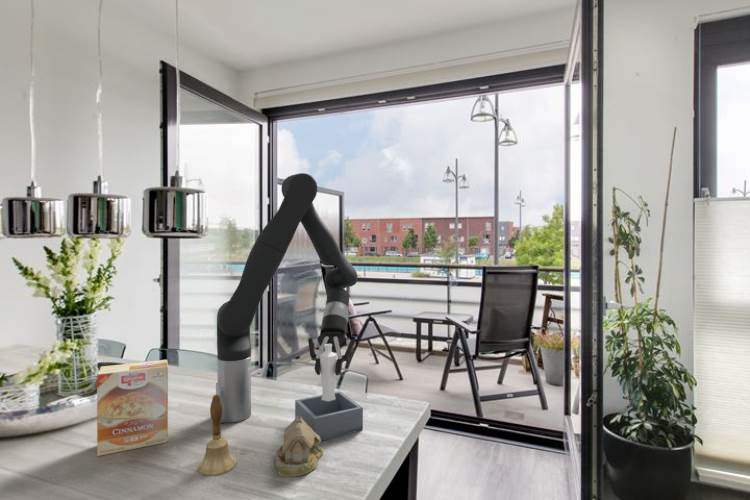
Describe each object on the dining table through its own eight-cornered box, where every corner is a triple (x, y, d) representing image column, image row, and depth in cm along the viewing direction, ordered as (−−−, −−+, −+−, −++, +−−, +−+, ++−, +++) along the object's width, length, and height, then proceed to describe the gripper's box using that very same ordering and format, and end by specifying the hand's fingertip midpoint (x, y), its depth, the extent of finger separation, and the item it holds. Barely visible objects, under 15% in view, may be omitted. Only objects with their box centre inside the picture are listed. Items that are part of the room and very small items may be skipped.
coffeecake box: (96, 457, 96) (96, 374, 96) (100, 443, 102) (100, 365, 102) (168, 443, 103) (168, 365, 103) (167, 431, 109) (167, 358, 109)
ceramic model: (278, 446, 102) (278, 406, 102) (323, 444, 103) (323, 404, 103) (270, 479, 88) (270, 433, 88) (323, 476, 89) (323, 430, 89)
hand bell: (197, 479, 87) (197, 405, 87) (197, 460, 95) (197, 391, 95) (238, 471, 91) (238, 399, 90) (235, 453, 98) (235, 387, 98)
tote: (314, 442, 104) (314, 418, 104) (295, 421, 116) (295, 400, 116) (362, 429, 111) (362, 407, 111) (340, 411, 123) (340, 391, 123)
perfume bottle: (334, 402, 111) (334, 347, 110) (318, 401, 112) (318, 346, 111) (339, 396, 115) (339, 342, 115) (324, 394, 116) (323, 342, 116)
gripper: (309, 313, 121) (298, 366, 109) (357, 313, 120) (352, 367, 108) (313, 327, 126) (304, 379, 114) (359, 327, 125) (355, 380, 113)
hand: (327, 373), depth 111 cm, fingers closed on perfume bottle, 4 cm apart
